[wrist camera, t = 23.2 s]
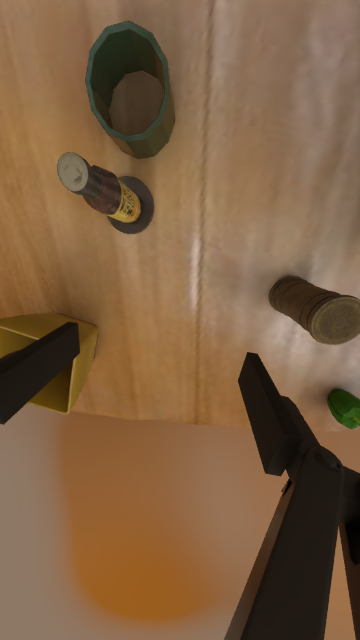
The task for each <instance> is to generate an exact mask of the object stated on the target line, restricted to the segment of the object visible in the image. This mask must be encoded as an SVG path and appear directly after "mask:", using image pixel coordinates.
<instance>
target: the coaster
mask: <svg viewBox="0 0 360 640" xmlns="http://www.w3.org/2000/svg"><path fill="white" fill-rule="evenodd" d="M119 179H120V180H121V181H122V182H123V183H124V184H125V185H126V186H127V187H129V188H130V189H131V190H132V191H133V192H134V193H135V194H136V195H137V197H138V199H139V201H140V203H141V213H140V216H139V218H138V219H137V220H136V221H134V222H132V223H127V222H122V221H120V220H117V219H115V218H112V217H110V216H108V215H107V217H108V219H109V221H110V222H111V224H112V225H113V226H114V227H115V228H116V229H118V230H119V231H121V232H123V233H127V234H136V233H139V232H141V231H143V230H144V229H146V227H147V226H148V225H149V224H150V222H151V220H152V217H153V212H154V205H153V199H152V196H151V194H150V192H149V190H148V188H147V187H146V186H145V185H144V184H143V183H142V182H141V181H140V180H138V179H136V178H134V177H130V176H123V177H120V178H119Z"/></svg>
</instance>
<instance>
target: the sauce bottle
mask: <svg viewBox="0 0 360 640" xmlns="http://www.w3.org/2000/svg"><path fill="white" fill-rule="evenodd" d="M57 173H58V176H59V179H60V181H61V183H62V184H63V185H64V186H65V187H66V188H67V189H68V190H70V191H72V192H73V193H75V194H79V195H80V194H82V195H83V197H84V199H85V200H86V202H87V203H88V204H89V205H90V206H91V207H92V208H93V209H95V210H97V211H99V212H101V213H103V214H105V215H108V216H110V217H112V218H115V219H117V220H120V221H122V222H127V223H132V222H134V221H136V220H137V219H138V218H139V216H140V213H141V203H140V201H139V199H138V197H137V195H136V194H135V193H134V192H133V191H132V190H131V189H130V188H129V187H127V186H126V185H125V184H124V183H123V182H122V181H121V180H120V179H119V178H118V177H117V176H115V175H114V174H113V173H112V172H109V171H107V170H105V169H102V168H100V167H98V166H95V165H93V166H92V167H91V166H90V165H89V164H88V162H87V161H86V160H85V159H83V158H82V157H81V156H79V155H77V154H75V153H71V152H68V153H65V154H63V155H62V156H61V157H60V159H59V160H58V164H57Z"/></svg>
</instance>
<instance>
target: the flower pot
mask: <svg viewBox="0 0 360 640" xmlns="http://www.w3.org/2000/svg"><path fill="white" fill-rule="evenodd" d="M68 321H69V322H75V323H78V328H79V342H80V354H79V355H78V356H77V357H76V358H75V359H74V360H72V361H71V362H70V363H69V364H68V365H67V366H66V367H65V368H64V369H63V370H62V371H61V372H60V373H59V374H57V375H56V376H55V377H54V378H53V379H52V380H51V381H50V382H49V383H48V384H47V385H46V386H45V387H43V388H42V389H41V390H40V391H39V392H38V393H37V394H36V395H35V396H34V397H33V398H32V399H31V400H30V401H28V402H27V403H29V404H32V405H35V406H39V407H42V408H45V409H48V410H52V411H56V412H58V413H62V414H68V413H69V412H70V410H71V409H72V407H73V405H74V404H75V402H76V400H77V398H78V396H79V394H80V392H81V390H82V388H83V386H84V384H85V381H86V379H87V377H88V374H89V372H90V369H91V366H92V363H93V359H94V354H95V348H96V342H97V336H98V330H99V329H98V327H97V326H95V325H92V324H89V323H86V322H83V321H80V320H76V319H73V318H70V317H67V316H64V315H61V314H32V315H22V316H15V317H8V318H3V319H0V358H2V357H3V356H5V355H7V354H9V353H12V352H15V351H17V350H22V349H23V348H25V347H27V346H28V345H30V344H32V343H33V342H35V341H37V340H38V339H40V338H42V337H43V336H45V335H47V334H48V333H50V332H52V331H53V330H55V329H57V328H58V327H60V326H62V325H63V324H65V323H67V322H68Z"/></svg>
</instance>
